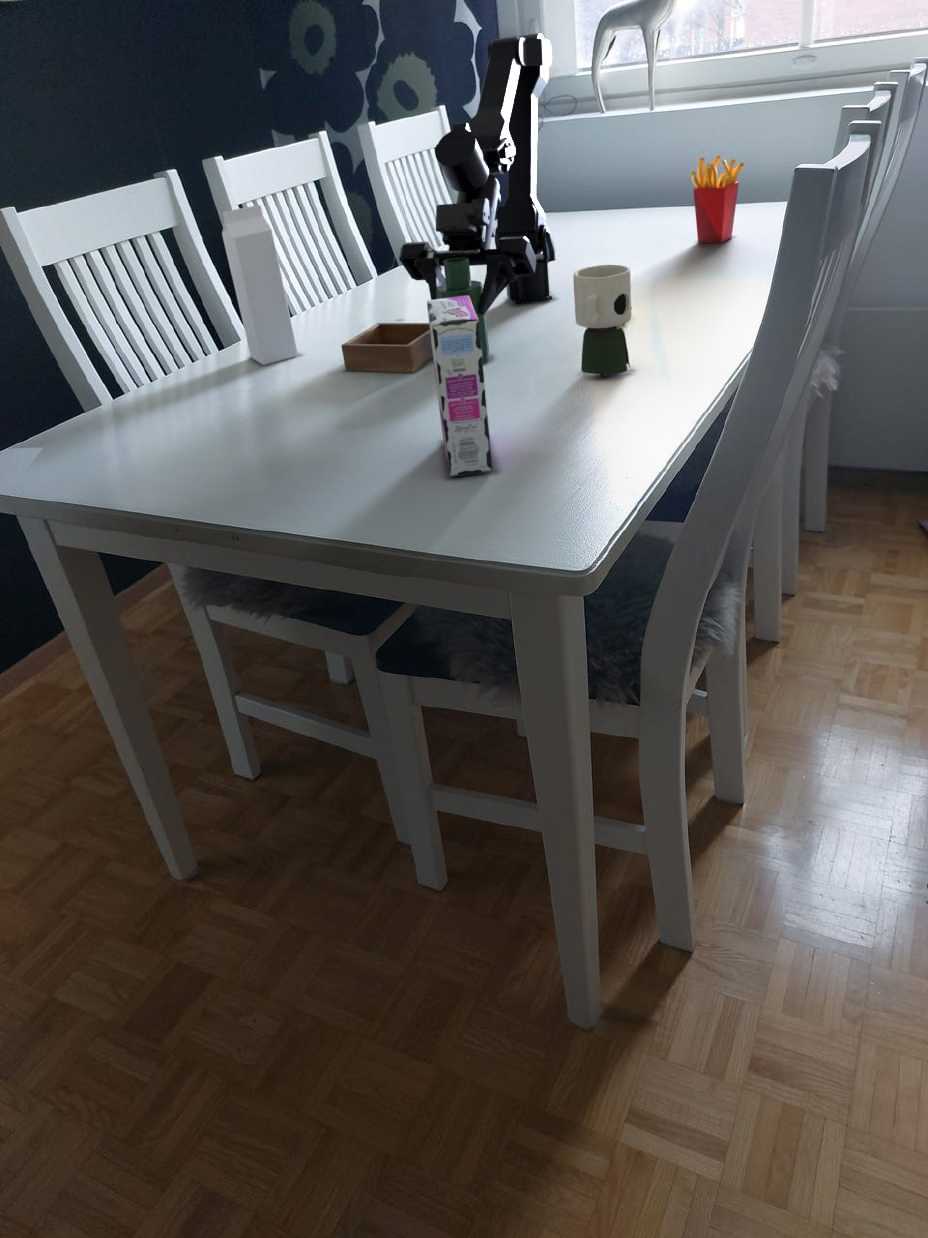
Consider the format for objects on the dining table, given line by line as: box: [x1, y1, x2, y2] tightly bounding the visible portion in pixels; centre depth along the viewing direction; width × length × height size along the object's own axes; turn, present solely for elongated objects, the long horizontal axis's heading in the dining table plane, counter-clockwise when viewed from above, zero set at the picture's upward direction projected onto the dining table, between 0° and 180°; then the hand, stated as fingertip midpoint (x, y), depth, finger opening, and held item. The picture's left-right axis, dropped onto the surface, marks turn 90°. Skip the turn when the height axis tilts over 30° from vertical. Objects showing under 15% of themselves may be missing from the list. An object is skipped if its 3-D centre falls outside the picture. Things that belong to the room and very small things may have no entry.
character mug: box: [572, 264, 633, 378], centre depth 121 cm, size 11×7×13 cm, turn 156°
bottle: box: [436, 257, 491, 365], centre depth 132 cm, size 6×6×14 cm
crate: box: [340, 322, 433, 374], centre depth 140 cm, size 11×11×4 cm
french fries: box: [690, 155, 745, 244], centre depth 179 cm, size 9×8×15 cm
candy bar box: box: [426, 296, 494, 478], centre depth 102 cm, size 11×5×16 cm, turn 5°
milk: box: [221, 204, 299, 366], centre depth 144 cm, size 6×6×22 cm
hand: (458, 313), depth 131 cm, fingers closed on bottle, 6 cm apart
